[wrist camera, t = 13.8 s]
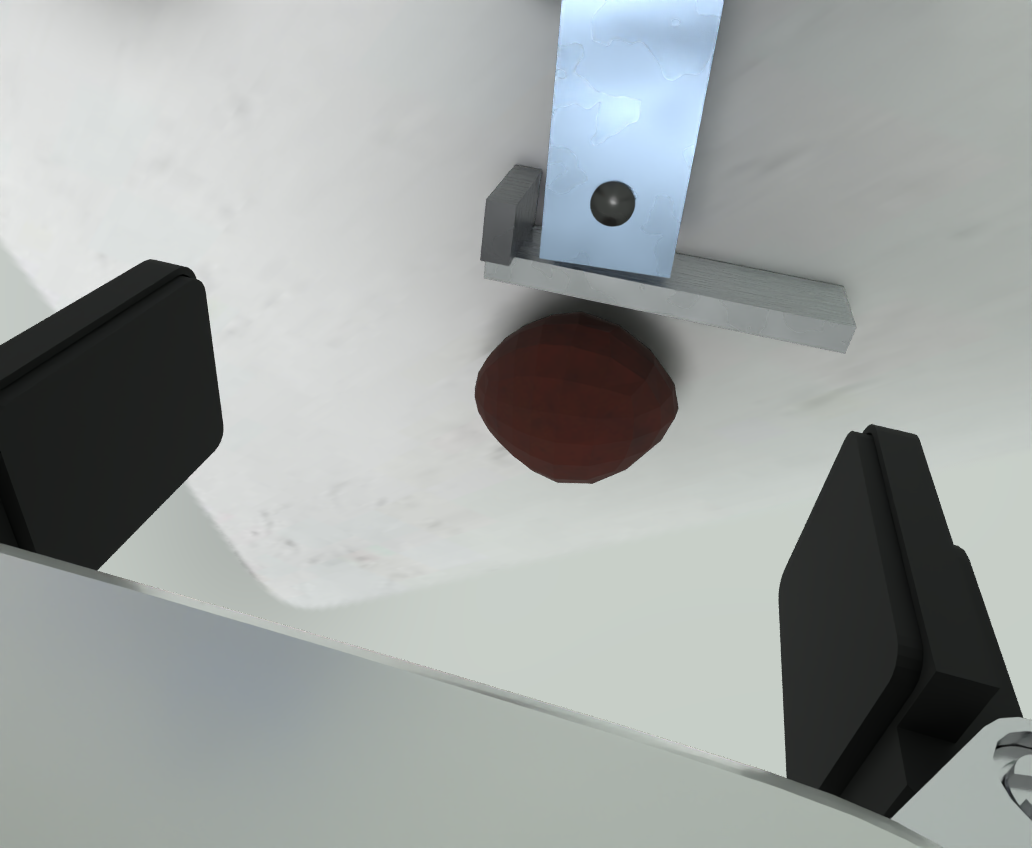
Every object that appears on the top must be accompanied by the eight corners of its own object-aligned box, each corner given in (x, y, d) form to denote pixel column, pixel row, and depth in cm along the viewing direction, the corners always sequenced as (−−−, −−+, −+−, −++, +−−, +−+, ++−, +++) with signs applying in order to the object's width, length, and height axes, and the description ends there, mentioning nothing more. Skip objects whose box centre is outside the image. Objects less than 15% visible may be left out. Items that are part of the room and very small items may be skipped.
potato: (498, 272, 36) (451, 346, 30) (695, 297, 35) (689, 381, 29) (494, 412, 41) (453, 503, 35) (668, 440, 39) (658, 540, 33)
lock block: (729, -43, 28) (730, -33, 23) (678, 224, 33) (669, 280, 28) (593, -55, 28) (564, -47, 23) (566, 208, 34) (538, 260, 29)
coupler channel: (988, -76, 25) (1038, -73, 21) (833, 311, 34) (848, 365, 30) (550, -138, 27) (519, -146, 23) (505, 244, 35) (477, 287, 31)
